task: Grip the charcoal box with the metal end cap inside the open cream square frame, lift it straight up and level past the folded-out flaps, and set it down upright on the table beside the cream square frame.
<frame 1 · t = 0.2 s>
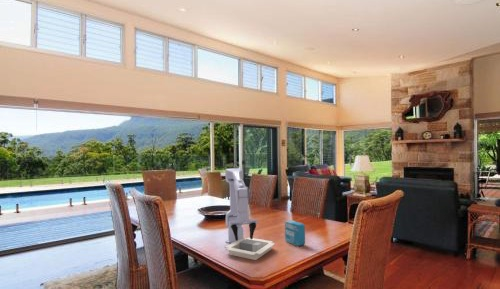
hand: (244, 239, 143), 10 cm above the table, tool pointing down, fingers open, 7 cm apart
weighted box: (250, 247, 154), in the cream square frame
cream square frame: (250, 251, 154), on the table
data package: (295, 243, 167), on the table
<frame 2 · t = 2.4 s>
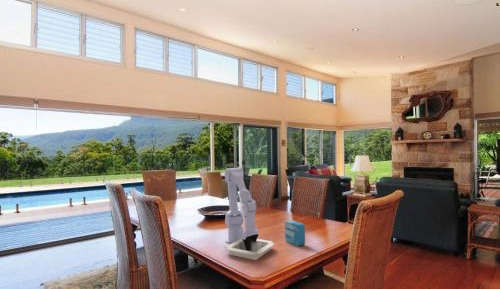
hand: (250, 249, 154), 1 cm above the table, tool pointing down, fingers closed on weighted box, 4 cm apart
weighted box: (250, 247, 154), in the cream square frame, touching gripper
everything else where it was.
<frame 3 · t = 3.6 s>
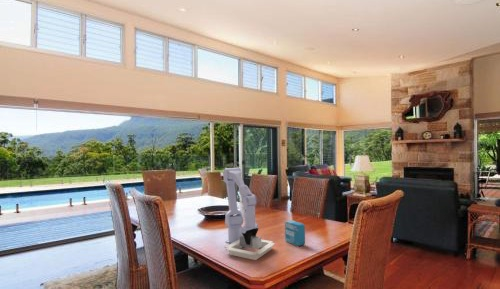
hand: (250, 243, 154), 5 cm above the table, tool pointing down, fingers closed on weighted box, 4 cm apart
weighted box: (250, 241, 154), point 6 cm above the table, touching gripper
everything else where it was.
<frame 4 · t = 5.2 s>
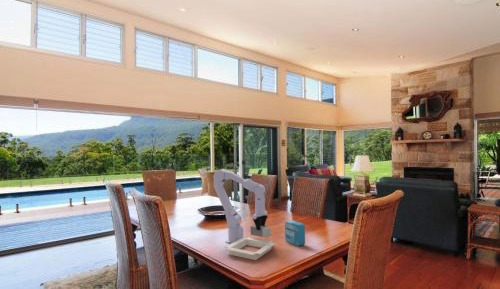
hand: (260, 228, 168), 8 cm above the table, tool pointing down, fingers closed on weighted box, 4 cm apart
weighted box: (260, 230, 168), point 7 cm above the table, touching gripper
everything else where it was.
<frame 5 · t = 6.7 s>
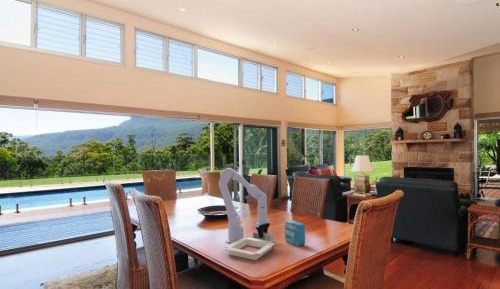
hand: (262, 236, 171), 3 cm above the table, tool pointing down, fingers closed on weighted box, 4 cm apart
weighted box: (263, 237, 171), on the table, touching gripper
everything else where it was.
when the fingers open (3 cm above the table, at t = 7.0 s): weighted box stays where it is, on the table.
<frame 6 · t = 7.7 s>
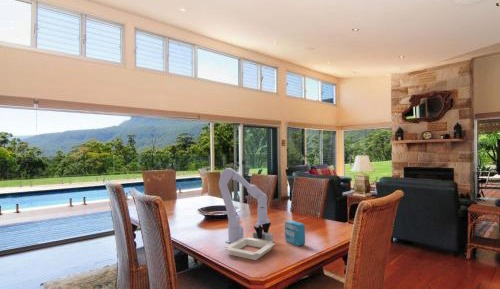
hand: (262, 236, 171), 3 cm above the table, tool pointing down, fingers open, 7 cm apart
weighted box: (263, 237, 171), on the table
everything else where it was.
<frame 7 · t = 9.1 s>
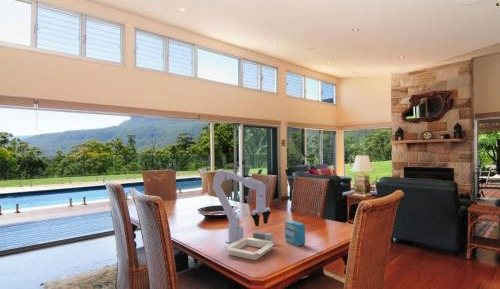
hand: (261, 224, 173), 9 cm above the table, tool pointing down, fingers open, 7 cm apart
nothing on the table moved.
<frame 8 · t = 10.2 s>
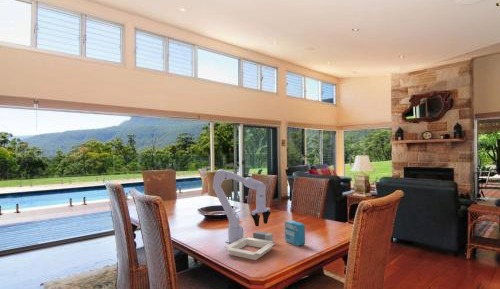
hand: (261, 224, 173), 9 cm above the table, tool pointing down, fingers open, 7 cm apart
nothing on the table moved.
at the end: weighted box inside the target area (0.1 cm from its centre), on the table; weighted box tilted 0°; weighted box touching table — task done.
